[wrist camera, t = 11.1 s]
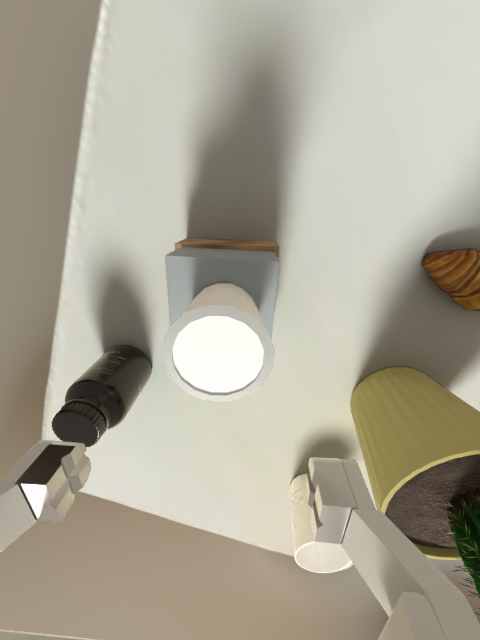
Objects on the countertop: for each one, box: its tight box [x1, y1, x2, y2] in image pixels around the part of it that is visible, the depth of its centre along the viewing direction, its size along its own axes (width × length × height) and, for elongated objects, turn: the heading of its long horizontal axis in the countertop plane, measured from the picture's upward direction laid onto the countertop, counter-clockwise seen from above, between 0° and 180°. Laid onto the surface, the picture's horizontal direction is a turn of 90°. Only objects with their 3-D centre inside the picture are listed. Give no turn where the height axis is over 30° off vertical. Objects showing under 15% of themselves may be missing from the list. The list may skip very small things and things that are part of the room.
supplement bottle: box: [52, 345, 151, 447], centre depth 31 cm, size 7×7×12 cm
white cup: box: [290, 473, 352, 573], centre depth 40 cm, size 8×8×10 cm
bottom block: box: [175, 238, 279, 257], centre depth 29 cm, size 10×10×5 cm
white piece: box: [162, 283, 274, 402], centre depth 19 cm, size 7×7×7 cm
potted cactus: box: [350, 367, 480, 620], centre depth 23 cm, size 15×15×30 cm
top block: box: [165, 247, 279, 340], centre depth 24 cm, size 9×9×5 cm
